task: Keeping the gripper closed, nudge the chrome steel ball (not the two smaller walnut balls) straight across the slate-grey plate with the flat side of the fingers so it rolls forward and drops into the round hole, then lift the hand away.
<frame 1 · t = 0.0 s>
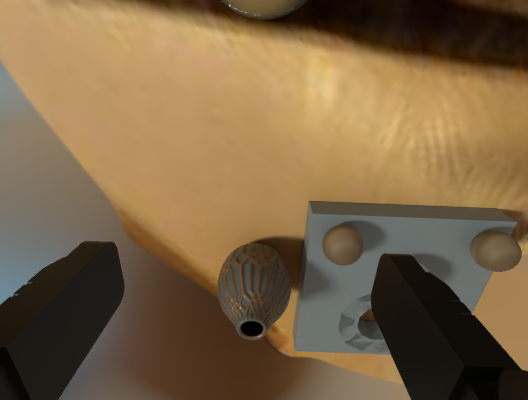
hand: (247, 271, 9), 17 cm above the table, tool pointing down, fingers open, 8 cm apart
vase: (256, 258, 30), on the table
hole plate: (382, 278, 31), on the table
walnut ball B: (494, 251, 24), point 4 cm above the table, touching hole plate
walnut ball A: (342, 245, 24), point 4 cm above the table, touching hole plate
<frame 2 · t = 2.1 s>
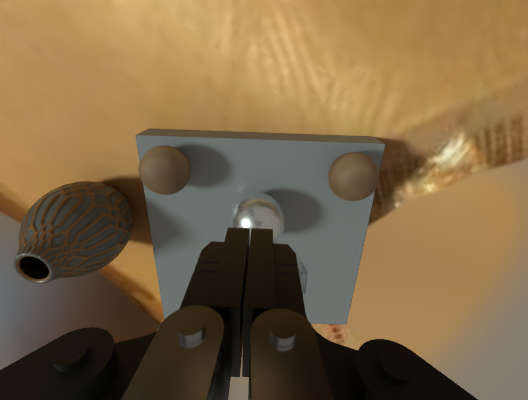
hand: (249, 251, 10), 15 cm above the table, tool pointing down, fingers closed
vase: (107, 206, 26), on the table
hole plate: (258, 229, 26), on the table
walnut ball B: (352, 176, 19), point 4 cm above the table, touching hole plate
walnut ball A: (165, 170, 19), point 4 cm above the table, touching hole plate
steel ball: (258, 220, 21), point 4 cm above the table, touching hole plate
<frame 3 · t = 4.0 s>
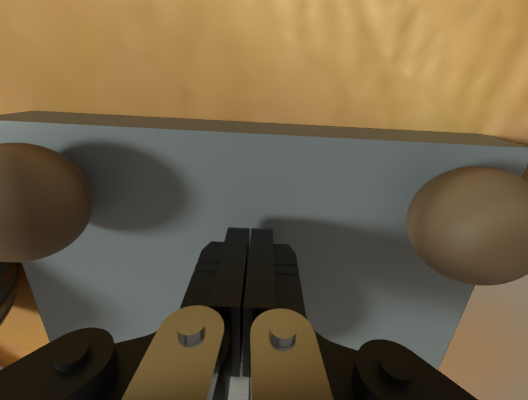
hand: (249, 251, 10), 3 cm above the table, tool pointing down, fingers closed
hole plate: (250, 297, 15), on the table
walnut ball B: (471, 224, 8), point 4 cm above the table, touching hole plate
walnut ball A: (24, 202, 8), point 4 cm above the table, touching hole plate
steel ball: (242, 343, 10), point 4 cm above the table, tilted 42°, touching gripper, hole plate
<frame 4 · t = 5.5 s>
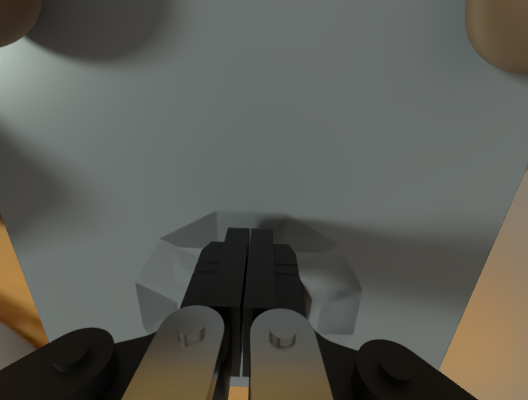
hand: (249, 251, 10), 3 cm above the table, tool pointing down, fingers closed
hole plate: (253, 199, 12), on the table
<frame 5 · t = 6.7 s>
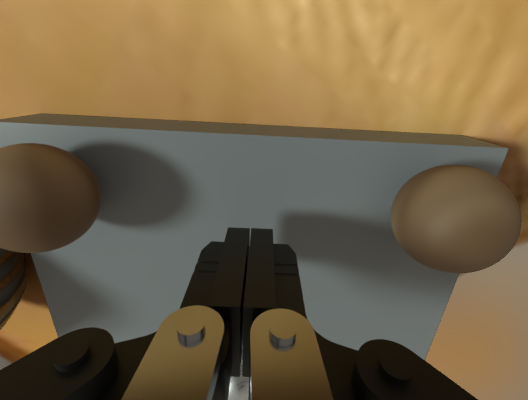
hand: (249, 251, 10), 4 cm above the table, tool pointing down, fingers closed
hole plate: (247, 291, 15), on the table
walnut ball B: (448, 218, 9), point 4 cm above the table, touching hole plate
walnut ball A: (38, 198, 9), point 4 cm above the table, touching hole plate
steel ball: (242, 373, 15), point 2 cm above the table, tilted 154°
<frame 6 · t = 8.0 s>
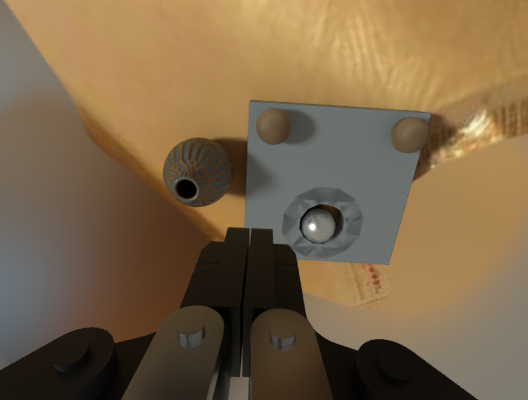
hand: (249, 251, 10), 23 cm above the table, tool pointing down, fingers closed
vase: (206, 162, 33), on the table
hole plate: (322, 185, 33), on the table
walnut ball B: (409, 135, 27), point 4 cm above the table, touching hole plate
walnut ball A: (273, 126, 27), point 4 cm above the table, touching hole plate
steel ball: (318, 225, 33), point 2 cm above the table, tilted 169°
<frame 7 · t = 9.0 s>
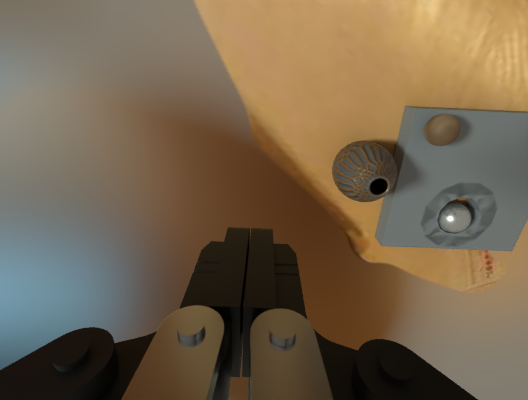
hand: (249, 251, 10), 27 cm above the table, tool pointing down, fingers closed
vase: (353, 162, 36), on the table
hole plate: (456, 180, 37), on the table
walnut ball A: (441, 130, 30), point 4 cm above the table, touching hole plate
steel ball: (452, 217, 37), point 2 cm above the table, tilted 171°
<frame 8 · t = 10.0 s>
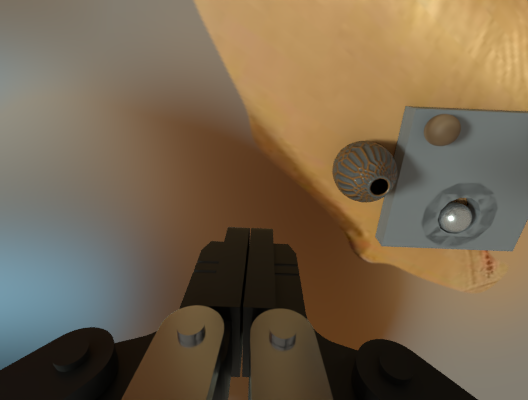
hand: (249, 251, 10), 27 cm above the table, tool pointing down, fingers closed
vase: (354, 162, 36), on the table
hole plate: (456, 180, 37), on the table
walnut ball A: (441, 130, 30), point 4 cm above the table, touching hole plate
steel ball: (453, 216, 37), point 2 cm above the table, tilted 169°
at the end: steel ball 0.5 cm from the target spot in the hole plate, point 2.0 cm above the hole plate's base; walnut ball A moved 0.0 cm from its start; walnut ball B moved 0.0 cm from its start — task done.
